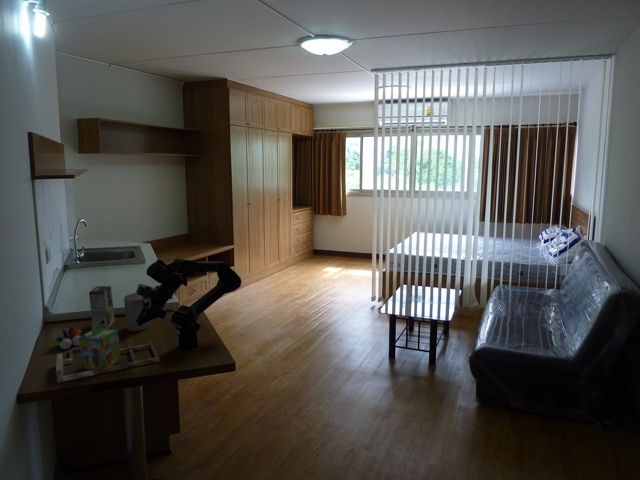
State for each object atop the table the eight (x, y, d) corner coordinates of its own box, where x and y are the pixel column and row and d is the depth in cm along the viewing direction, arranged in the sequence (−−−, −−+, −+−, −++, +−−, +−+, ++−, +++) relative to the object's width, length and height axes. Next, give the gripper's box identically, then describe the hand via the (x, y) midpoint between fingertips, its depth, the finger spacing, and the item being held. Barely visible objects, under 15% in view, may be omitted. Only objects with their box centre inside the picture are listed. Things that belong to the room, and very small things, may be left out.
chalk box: (105, 371, 160) (101, 329, 157) (81, 369, 161) (76, 328, 159) (122, 360, 168) (118, 320, 166) (99, 358, 170) (94, 318, 168)
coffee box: (99, 322, 207) (96, 286, 204) (115, 321, 208) (111, 285, 205) (92, 329, 198) (88, 292, 195) (108, 328, 199) (104, 291, 196)
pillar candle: (133, 322, 205) (130, 289, 202) (155, 323, 204) (152, 289, 201) (122, 331, 196) (118, 296, 193) (145, 331, 195) (141, 296, 192)
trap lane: (149, 337, 189) (148, 327, 188) (159, 361, 167) (158, 350, 166) (59, 353, 175) (57, 343, 174) (57, 382, 152) (56, 370, 152)
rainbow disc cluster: (87, 344, 183) (85, 326, 182) (60, 352, 176) (57, 334, 175) (78, 339, 189) (76, 321, 187) (51, 346, 182) (49, 328, 180)
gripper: (145, 270, 176) (116, 303, 173) (153, 281, 159) (121, 319, 156) (169, 287, 181) (141, 320, 178) (179, 300, 164) (148, 337, 161)
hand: (137, 323), depth 168 cm, fingers open, 3 cm apart
